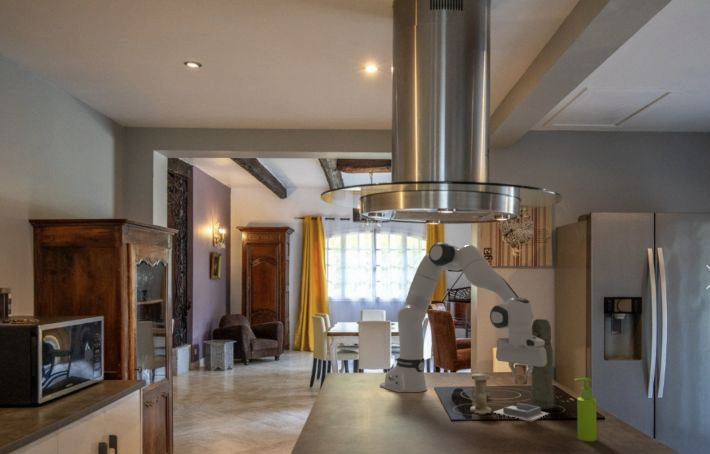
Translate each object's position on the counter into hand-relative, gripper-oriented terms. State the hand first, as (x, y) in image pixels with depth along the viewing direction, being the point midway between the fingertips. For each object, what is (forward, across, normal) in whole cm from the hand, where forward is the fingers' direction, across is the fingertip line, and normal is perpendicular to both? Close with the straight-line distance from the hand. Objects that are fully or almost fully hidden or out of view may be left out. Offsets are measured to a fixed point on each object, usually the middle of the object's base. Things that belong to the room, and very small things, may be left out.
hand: (520, 375), depth 229 cm
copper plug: (+3, 0, 0) cm, 3 cm away
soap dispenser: (+15, +31, -13) cm, 37 cm away
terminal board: (+15, 0, 0) cm, 15 cm away
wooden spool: (+15, -13, -8) cm, 21 cm away
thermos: (+15, 0, +17) cm, 23 cm away
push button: (+15, -27, +15) cm, 34 cm away
